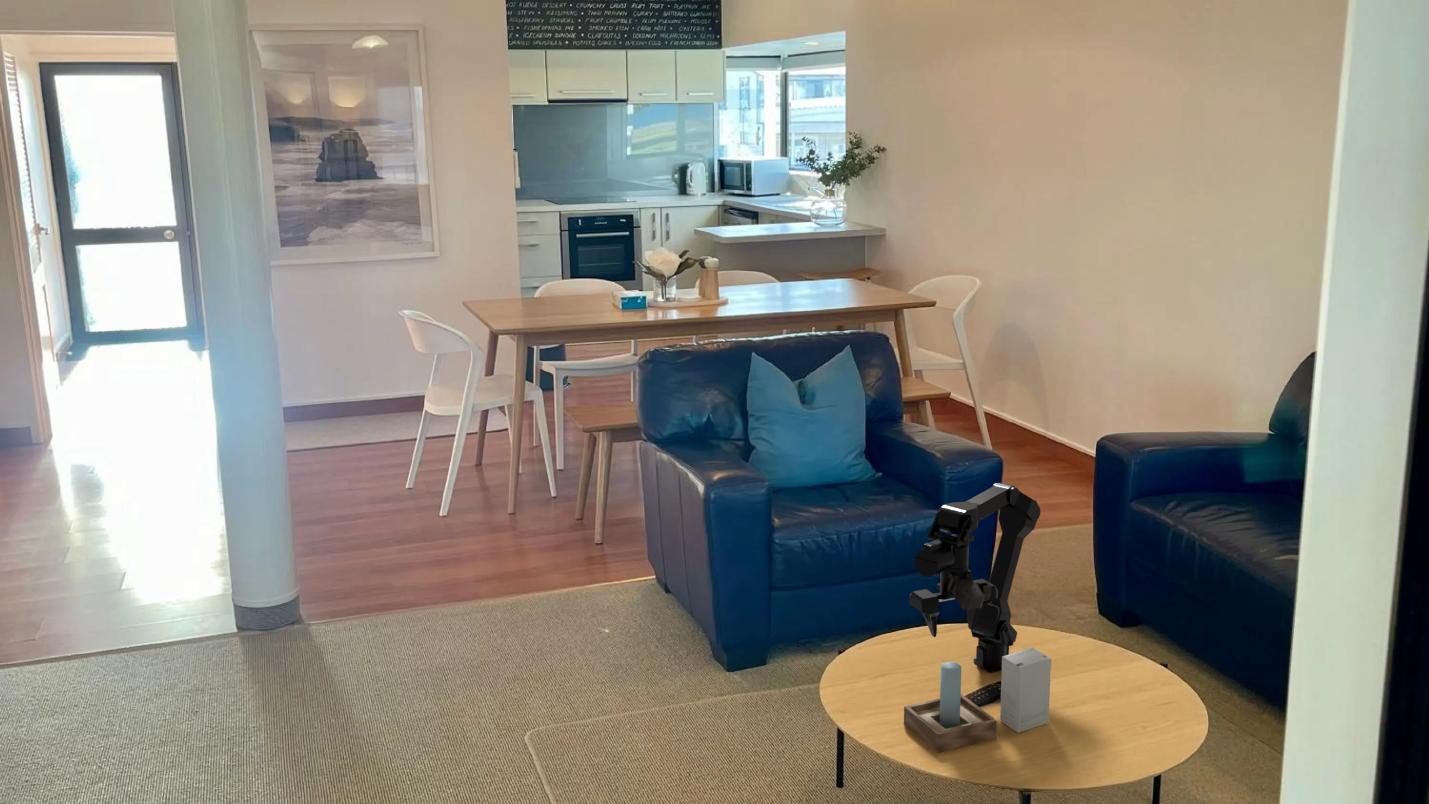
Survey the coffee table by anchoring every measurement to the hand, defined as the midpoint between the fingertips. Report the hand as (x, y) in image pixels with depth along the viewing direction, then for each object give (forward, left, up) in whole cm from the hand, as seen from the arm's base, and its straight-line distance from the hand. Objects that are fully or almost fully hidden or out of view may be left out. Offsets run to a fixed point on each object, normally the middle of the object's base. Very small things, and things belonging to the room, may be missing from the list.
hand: (952, 632), depth 252 cm
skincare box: (-5, +19, -13) cm, 24 cm away
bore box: (+10, +16, -13) cm, 23 cm away
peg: (+10, +16, -13) cm, 23 cm away
